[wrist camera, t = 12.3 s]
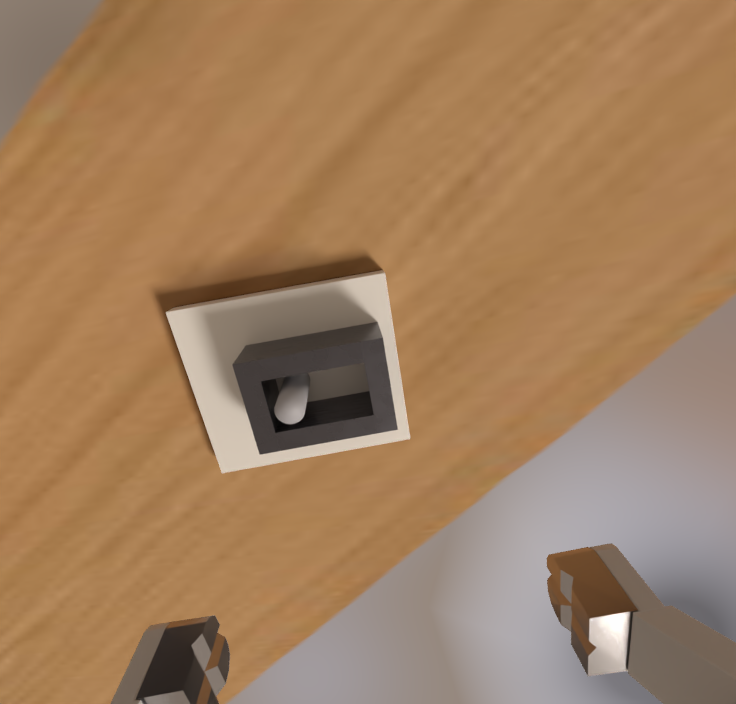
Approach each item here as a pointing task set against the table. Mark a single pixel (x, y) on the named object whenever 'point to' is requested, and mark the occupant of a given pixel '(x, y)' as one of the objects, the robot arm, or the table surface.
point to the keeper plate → (272, 322)
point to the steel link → (321, 416)
